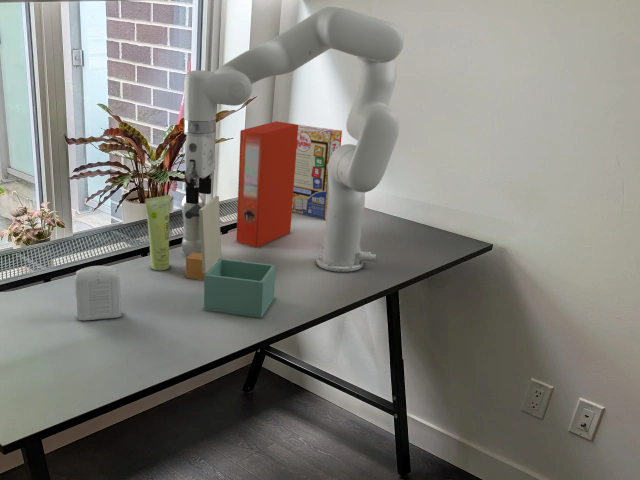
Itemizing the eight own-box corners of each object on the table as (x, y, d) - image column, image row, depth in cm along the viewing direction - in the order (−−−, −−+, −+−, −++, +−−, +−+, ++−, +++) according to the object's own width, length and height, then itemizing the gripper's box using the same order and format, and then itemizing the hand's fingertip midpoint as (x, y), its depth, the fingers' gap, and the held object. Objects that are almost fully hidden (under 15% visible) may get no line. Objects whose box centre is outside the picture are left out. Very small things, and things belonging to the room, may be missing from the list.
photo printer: (120, 311, 173) (117, 261, 167) (122, 318, 170) (120, 268, 164) (76, 315, 171) (72, 265, 165) (78, 322, 168) (74, 271, 162)
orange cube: (213, 274, 194) (213, 254, 191) (207, 280, 190) (207, 260, 187) (192, 271, 196) (192, 252, 193) (186, 278, 192) (185, 258, 189)
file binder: (291, 233, 224) (298, 124, 208) (258, 247, 212) (263, 133, 196) (269, 228, 228) (274, 121, 212) (236, 242, 217) (239, 130, 201)
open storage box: (273, 298, 179) (275, 264, 175) (261, 318, 169) (263, 282, 165) (219, 291, 183) (219, 258, 179) (204, 310, 174) (204, 275, 169)
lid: (218, 196, 172) (197, 195, 173) (202, 209, 162) (179, 209, 164) (221, 256, 179) (200, 255, 180) (205, 273, 169) (183, 272, 171)
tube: (164, 272, 195) (163, 200, 185) (147, 270, 197) (144, 198, 187) (171, 265, 200) (170, 194, 190) (154, 263, 201) (152, 192, 192)
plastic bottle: (196, 260, 203) (195, 188, 193) (176, 255, 207) (175, 184, 197) (209, 253, 208) (210, 183, 198) (190, 249, 211) (190, 179, 201)
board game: (335, 216, 239) (343, 130, 226) (324, 220, 235) (332, 133, 222) (285, 204, 251) (290, 122, 238) (273, 208, 247) (278, 124, 234)
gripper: (202, 134, 166) (201, 209, 174) (225, 122, 180) (223, 191, 189) (172, 132, 168) (172, 205, 176) (196, 120, 182) (195, 188, 191)
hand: (198, 198), depth 182 cm, fingers open, 9 cm apart
